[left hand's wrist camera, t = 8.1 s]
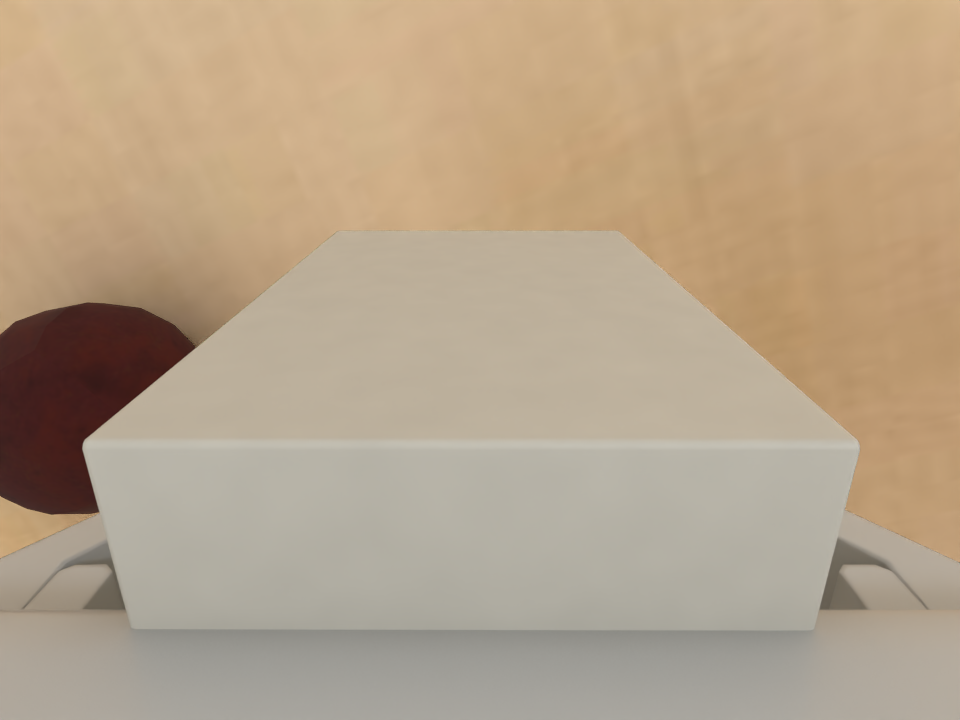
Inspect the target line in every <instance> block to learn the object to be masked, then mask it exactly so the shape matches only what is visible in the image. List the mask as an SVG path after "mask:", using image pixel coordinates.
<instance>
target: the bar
mask: <svg viewBox="0 0 960 720" xmlns="http://www.w3.org/2000/svg"><path fill="white" fill-rule="evenodd" d="M82 449H83V453H84V457H85V460H86V464H87V468H88V472H89V475H90V479H91V483H92V486H93V490H94V494H95V497H96V501H97V505H98V509H99V512H100V516H101V520H102V523H103V527H104V531H105V535H106V538H107V542H108V546H109V549H110V553H111V557H112V561H113V564H114V568H115V572H116V575H117V579H118V583H119V586H120V590H121V594H122V598H123V601H124V605H125V609H126V612H127V616H128V620H129V624H130V627H131V628H133V629H218V630H743V631H810V630H813V629H814V628H815V624H816V620H817V616H818V612H819V608H820V604H821V600H822V596H823V592H824V588H825V585H826V581H827V577H828V573H829V569H830V565H831V561H832V557H833V553H834V549H835V545H836V542H837V538H838V534H839V530H840V526H841V522H842V518H843V514H844V510H845V506H846V502H847V499H848V495H849V491H850V487H851V483H852V479H853V475H854V471H855V467H856V463H857V460H858V456H859V452H860V445H859V442H858V440H857V439H856V438H855V437H853V436H852V435H851V434H850V433H849V432H848V431H847V430H845V429H844V428H843V427H842V426H841V425H840V424H839V423H837V422H836V421H835V420H834V419H833V418H832V417H831V416H829V415H828V414H827V413H826V412H825V411H824V410H823V409H821V408H820V407H819V406H818V405H817V404H816V403H815V402H813V401H812V400H811V399H810V398H809V397H808V396H807V395H805V394H804V393H803V392H802V391H801V390H800V389H799V388H797V387H796V386H795V385H794V384H793V383H792V382H791V381H789V380H788V379H787V378H786V377H785V376H784V375H783V374H781V373H780V372H779V371H778V370H777V369H776V368H775V367H773V366H772V365H771V364H770V363H769V362H768V361H767V360H765V359H764V358H763V357H762V356H761V355H760V354H759V353H757V352H756V351H755V350H754V349H753V348H752V347H751V346H749V345H748V344H747V343H746V342H745V341H744V340H743V339H741V338H740V337H739V336H738V335H737V334H736V333H735V332H733V331H732V330H731V329H730V328H729V327H728V326H727V325H725V324H724V323H723V322H722V321H721V320H720V319H719V318H717V317H716V316H715V315H714V314H713V313H712V312H711V311H709V310H708V309H707V308H706V307H705V306H704V305H703V304H701V303H700V302H699V301H698V300H697V299H696V298H694V297H693V296H692V295H691V294H690V293H689V292H688V291H686V290H685V289H684V288H683V287H682V286H681V285H680V284H678V283H677V282H676V281H675V280H674V279H673V278H672V277H670V276H669V275H668V274H667V273H666V272H665V271H664V270H662V269H661V268H660V267H659V266H658V265H657V264H656V263H654V262H653V261H652V260H651V259H650V258H649V257H648V256H646V255H645V254H644V253H643V252H642V251H641V250H640V249H638V248H637V247H636V246H635V245H634V244H633V243H632V242H630V241H629V240H628V239H627V238H626V237H625V236H624V235H622V234H621V233H620V232H619V231H337V232H336V233H335V234H333V235H332V236H331V237H330V238H329V239H327V240H326V241H325V242H324V243H322V244H321V245H320V246H319V247H318V248H316V249H315V250H314V251H313V252H312V253H310V254H309V255H308V256H307V257H306V258H304V259H303V260H302V261H301V262H299V263H298V264H297V265H296V266H295V267H293V268H292V269H291V270H290V271H289V272H287V273H286V274H285V275H284V276H283V277H281V278H280V279H279V280H278V281H276V282H275V283H274V284H273V285H272V286H270V287H269V288H268V289H267V290H266V291H264V292H263V293H262V294H261V295H259V296H258V297H257V298H256V299H255V300H253V301H252V302H251V303H250V304H249V305H247V306H246V307H245V308H244V309H243V310H241V311H240V312H239V313H238V314H236V315H235V316H234V317H233V318H232V319H230V320H229V321H228V322H227V323H226V324H224V325H223V326H222V327H221V328H220V329H218V330H217V331H216V332H215V333H213V334H212V335H211V336H210V337H209V338H207V339H206V340H205V341H204V342H203V343H201V344H200V345H199V346H198V347H197V348H195V349H194V350H193V351H192V352H190V353H189V354H188V355H187V356H186V357H184V358H183V359H182V360H181V361H180V362H178V363H177V364H176V365H175V366H173V367H172V368H171V369H170V370H169V371H167V372H166V373H165V374H164V375H163V376H161V377H160V378H159V379H158V380H157V381H155V382H154V383H153V384H152V385H150V386H149V387H148V388H147V389H146V390H144V391H143V392H142V393H141V394H140V395H138V396H137V397H136V398H135V399H134V400H132V401H131V402H130V403H129V404H127V405H126V406H125V407H124V408H123V409H121V410H120V411H119V412H118V413H117V414H115V415H114V416H113V417H112V418H111V419H109V420H108V421H107V422H106V423H104V424H103V425H102V426H101V427H100V428H98V429H97V430H96V431H95V432H94V433H92V434H91V435H90V436H89V437H87V438H86V439H85V440H84V443H83V448H82Z"/></svg>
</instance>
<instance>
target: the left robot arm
mask: <svg viewBox="0 0 960 720" xmlns="http://www.w3.org/2000/svg"><path fill="white" fill-rule="evenodd" d="M0 720H960V563H959V562H957V561H955V560H953V559H951V558H948V557H946V556H944V555H942V554H940V553H938V552H935V551H933V550H931V549H929V548H927V547H925V546H922V545H920V544H918V543H916V542H914V541H911V540H909V539H907V538H905V537H903V536H901V535H898V534H896V533H894V532H892V531H890V530H888V529H885V528H883V527H881V526H879V525H877V524H875V523H872V522H870V521H868V520H866V519H864V518H862V517H859V516H857V515H855V514H853V513H851V512H849V511H846V510H844V514H843V518H842V522H841V526H840V530H839V534H838V538H837V542H836V545H835V549H834V553H833V557H832V561H831V565H830V569H829V573H828V577H827V581H826V585H825V588H824V592H823V596H822V600H821V604H820V608H819V612H818V616H817V620H816V624H815V628H814V629H813V630H810V631H743V630H218V629H133V628H131V627H130V624H129V620H128V616H127V612H126V609H125V605H124V601H123V598H122V594H121V590H120V586H119V583H118V579H117V575H116V572H115V568H114V564H113V561H112V557H111V553H110V549H109V546H108V542H107V538H106V535H105V531H104V527H103V523H102V520H101V516H100V513H99V514H97V515H95V516H93V517H90V518H88V519H86V520H84V521H82V522H79V523H77V524H75V525H73V526H71V527H68V528H66V529H64V530H62V531H60V532H57V533H55V534H53V535H51V536H49V537H46V538H44V539H42V540H40V541H38V542H35V543H33V544H31V545H29V546H27V547H24V548H22V549H20V550H18V551H16V552H13V553H11V554H9V555H7V556H5V557H2V558H0Z"/></svg>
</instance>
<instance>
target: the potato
mask: <svg viewBox="0 0 960 720" xmlns="http://www.w3.org/2000/svg"><path fill="white" fill-rule="evenodd" d="M194 349H195V346H194V345H193V344H192V343H191V342H190V341H189V340H188V339H187V338H186V337H185V336H184V335H183V334H182V332H181V331H180V330H179V329H178V328H177V327H176V326H175V325H173V324H171V323H169V322H167V321H165V320H163V319H162V318H160V317H158V316H156V315H154V314H152V313H150V312H148V311H146V310H144V309H142V308H136V307H128V306H120V305H112V304H103V303H83V304H78V305H73V306H68V307H63V308H58V309H53V310H48V311H44V312H41V313H39V314H36V315H33V316H30V317H27V318H25V319H22V320H19V321H16V322H15V323H13V324H12V325H11V326H10V327H9V328H8V329H6V330H5V331H4V332H3V333H2V334H1V335H0V496H1V497H3V498H5V499H7V500H9V501H11V502H14V503H16V504H18V505H20V506H22V507H24V508H27V509H30V510H35V511H39V512H43V513H47V514H91V513H97V512H99V509H98V505H97V501H96V497H95V494H94V490H93V486H92V483H91V479H90V475H89V472H88V468H87V464H86V460H85V457H84V453H83V449H82V448H83V443H84V440H85V439H86V438H87V437H89V436H90V435H91V434H92V433H94V432H95V431H96V430H97V429H98V428H100V427H101V426H102V425H103V424H104V423H106V422H107V421H108V420H109V419H111V418H112V417H113V416H114V415H115V414H117V413H118V412H119V411H120V410H121V409H123V408H124V407H125V406H126V405H127V404H129V403H130V402H131V401H132V400H134V399H135V398H136V397H137V396H138V395H140V394H141V393H142V392H143V391H144V390H146V389H147V388H148V387H149V386H150V385H152V384H153V383H154V382H155V381H157V380H158V379H159V378H160V377H161V376H163V375H164V374H165V373H166V372H167V371H169V370H170V369H171V368H172V367H173V366H175V365H176V364H177V363H178V362H180V361H181V360H182V359H183V358H184V357H186V356H187V355H188V354H189V353H190V352H192V351H193V350H194Z"/></svg>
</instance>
